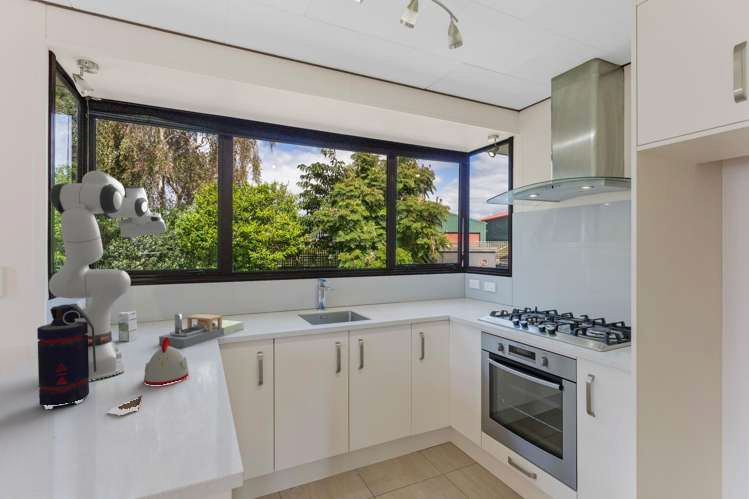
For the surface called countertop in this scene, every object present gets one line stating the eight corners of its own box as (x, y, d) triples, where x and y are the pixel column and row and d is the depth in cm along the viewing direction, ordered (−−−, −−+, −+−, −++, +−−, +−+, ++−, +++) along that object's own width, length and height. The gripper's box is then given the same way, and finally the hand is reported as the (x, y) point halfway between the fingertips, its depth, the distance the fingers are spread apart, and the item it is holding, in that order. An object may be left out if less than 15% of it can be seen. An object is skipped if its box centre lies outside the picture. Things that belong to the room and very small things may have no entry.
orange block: (204, 330, 190) (204, 321, 190) (197, 329, 192) (197, 320, 192) (212, 327, 195) (212, 319, 195) (204, 327, 197) (204, 318, 197)
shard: (142, 399, 117) (142, 394, 117) (159, 403, 114) (159, 397, 114) (106, 414, 106) (106, 408, 106) (124, 419, 104) (124, 412, 104)
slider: (183, 336, 175) (183, 315, 175) (168, 335, 179) (167, 314, 179) (219, 326, 196) (219, 307, 196) (205, 325, 200) (204, 306, 200)
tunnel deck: (183, 347, 172) (183, 325, 172) (159, 344, 178) (159, 322, 178) (243, 328, 209) (243, 310, 209) (221, 326, 215) (221, 308, 215)
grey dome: (138, 388, 124) (137, 344, 124) (151, 374, 138) (150, 334, 137) (183, 384, 128) (182, 341, 128) (192, 370, 141) (191, 332, 141)
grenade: (36, 414, 106) (33, 310, 105) (42, 400, 115) (39, 305, 115) (96, 402, 114) (94, 305, 113) (97, 389, 123) (95, 300, 123)
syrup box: (137, 338, 189) (137, 310, 189) (128, 341, 183) (128, 312, 183) (127, 338, 190) (126, 310, 189) (118, 341, 184) (117, 312, 184)
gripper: (116, 221, 181) (122, 247, 186) (163, 217, 190) (168, 241, 195) (117, 217, 186) (123, 242, 191) (163, 213, 195) (168, 237, 200)
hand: (146, 242), depth 193 cm, fingers open, 8 cm apart
